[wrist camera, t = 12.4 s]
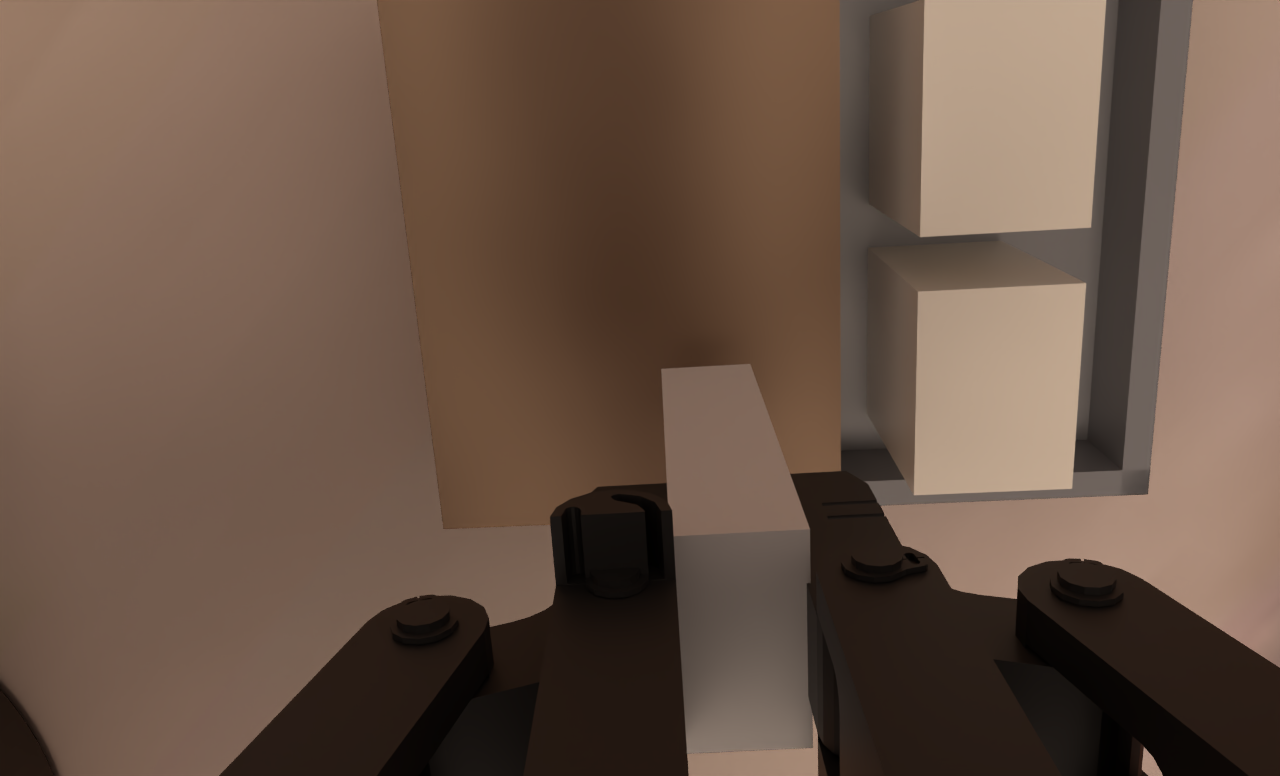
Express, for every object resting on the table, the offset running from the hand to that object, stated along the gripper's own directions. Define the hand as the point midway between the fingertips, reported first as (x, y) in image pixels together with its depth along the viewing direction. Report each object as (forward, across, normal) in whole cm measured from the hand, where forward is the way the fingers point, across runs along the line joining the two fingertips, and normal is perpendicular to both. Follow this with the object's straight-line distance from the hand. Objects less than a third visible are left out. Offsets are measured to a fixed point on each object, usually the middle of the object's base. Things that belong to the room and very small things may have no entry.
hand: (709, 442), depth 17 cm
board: (+8, -1, +2) cm, 8 cm away
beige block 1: (+4, +4, +5) cm, 8 cm away
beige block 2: (+4, +4, 0) cm, 6 cm away
